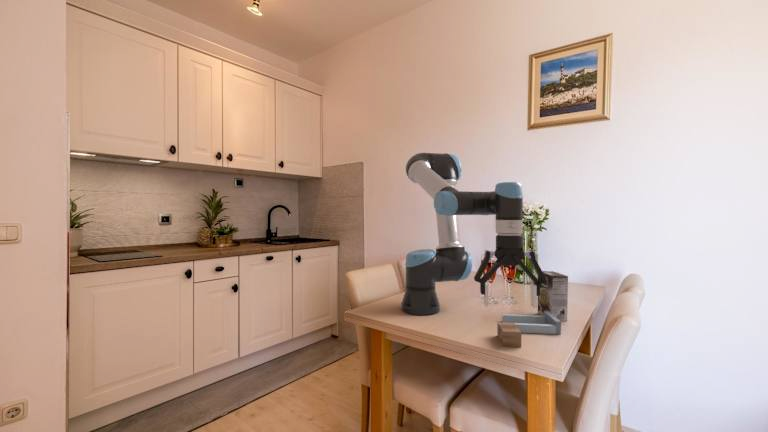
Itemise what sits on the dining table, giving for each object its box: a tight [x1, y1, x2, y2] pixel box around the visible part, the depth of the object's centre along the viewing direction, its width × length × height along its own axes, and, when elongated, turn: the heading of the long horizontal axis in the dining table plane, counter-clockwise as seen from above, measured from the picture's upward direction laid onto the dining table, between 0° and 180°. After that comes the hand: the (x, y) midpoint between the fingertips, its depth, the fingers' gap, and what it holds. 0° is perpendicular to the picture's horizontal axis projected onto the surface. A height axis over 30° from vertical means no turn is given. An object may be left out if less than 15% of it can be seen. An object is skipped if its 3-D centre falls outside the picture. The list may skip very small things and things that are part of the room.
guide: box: [501, 311, 562, 335], centre depth 108 cm, size 16×10×4 cm
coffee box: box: [537, 270, 569, 322], centre depth 118 cm, size 9×6×16 cm
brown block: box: [496, 321, 522, 348], centre depth 97 cm, size 8×5×4 cm, turn 172°
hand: (509, 306), depth 96 cm, fingers open, 13 cm apart
